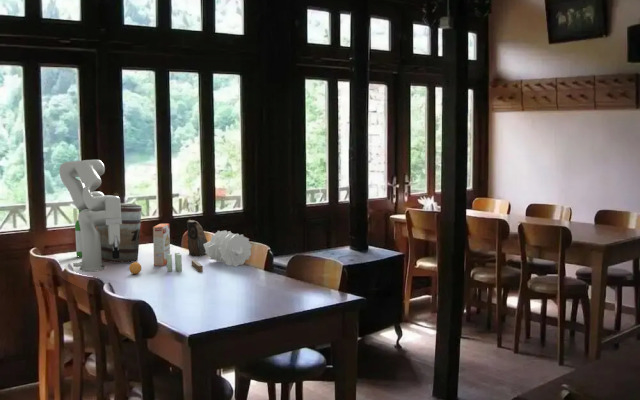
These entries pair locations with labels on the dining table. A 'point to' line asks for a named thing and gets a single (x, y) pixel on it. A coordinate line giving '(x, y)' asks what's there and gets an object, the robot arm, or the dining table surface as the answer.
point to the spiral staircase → (228, 248)
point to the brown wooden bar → (197, 265)
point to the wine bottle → (78, 238)
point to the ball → (135, 268)
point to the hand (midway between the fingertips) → (116, 258)
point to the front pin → (169, 262)
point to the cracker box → (161, 244)
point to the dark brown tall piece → (196, 239)
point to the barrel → (124, 235)
